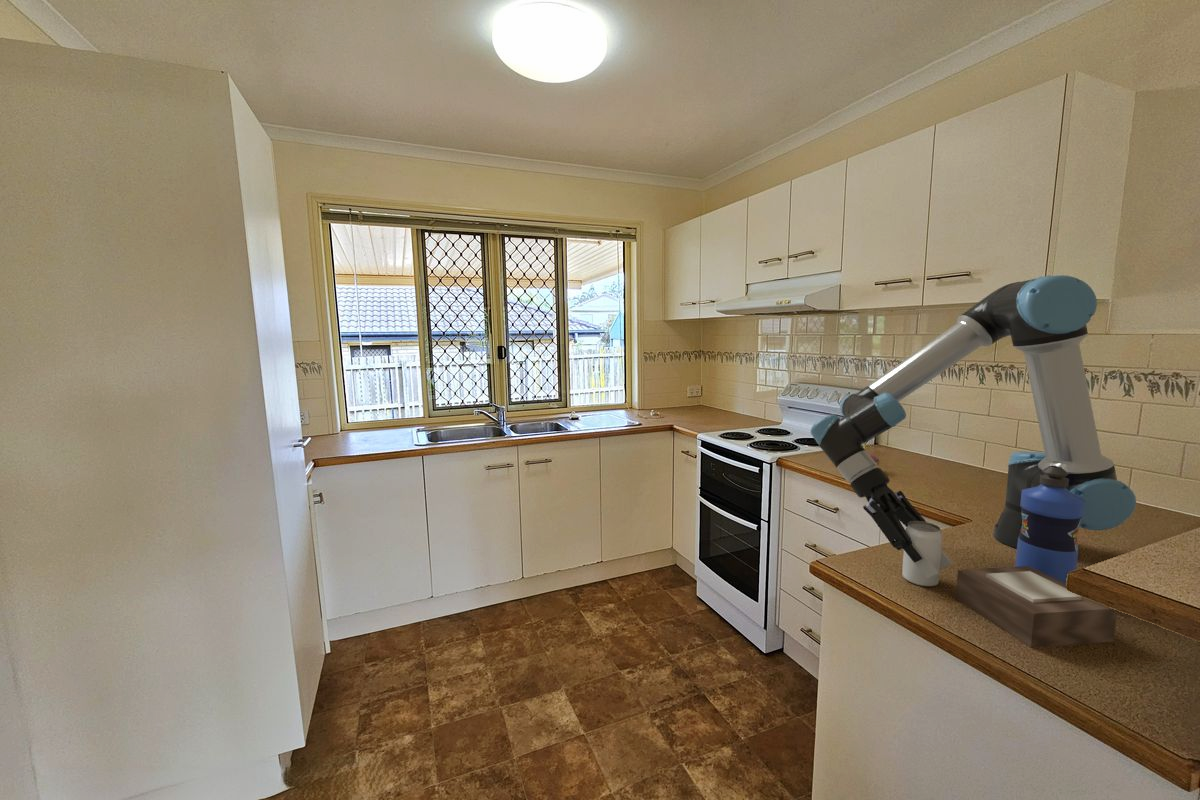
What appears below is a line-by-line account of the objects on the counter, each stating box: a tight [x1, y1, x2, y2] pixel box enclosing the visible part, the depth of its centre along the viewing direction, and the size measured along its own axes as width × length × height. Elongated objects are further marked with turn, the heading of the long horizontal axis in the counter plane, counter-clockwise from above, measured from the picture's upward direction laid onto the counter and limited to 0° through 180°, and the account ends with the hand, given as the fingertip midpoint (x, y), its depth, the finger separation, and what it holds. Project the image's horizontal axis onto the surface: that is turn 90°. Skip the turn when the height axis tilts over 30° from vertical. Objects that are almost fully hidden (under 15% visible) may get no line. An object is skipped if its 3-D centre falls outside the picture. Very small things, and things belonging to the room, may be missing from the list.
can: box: [901, 521, 943, 588], centre depth 99 cm, size 6×6×12 cm
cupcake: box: [862, 443, 880, 466], centre depth 180 cm, size 9×8×12 cm
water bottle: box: [1014, 466, 1085, 583], centre depth 96 cm, size 9×9×25 cm
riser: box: [955, 566, 1118, 649], centre depth 85 cm, size 15×15×7 cm
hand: (939, 570), depth 96 cm, fingers closed on can, 6 cm apart
